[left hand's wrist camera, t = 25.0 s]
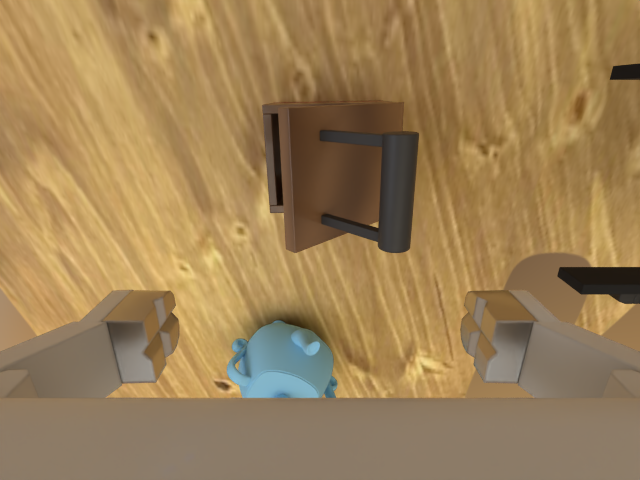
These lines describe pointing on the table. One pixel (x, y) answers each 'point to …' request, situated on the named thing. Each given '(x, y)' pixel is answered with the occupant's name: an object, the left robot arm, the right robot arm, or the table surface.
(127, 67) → the table surface
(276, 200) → the chest
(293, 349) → the teapot
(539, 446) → the left robot arm
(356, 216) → the lid
